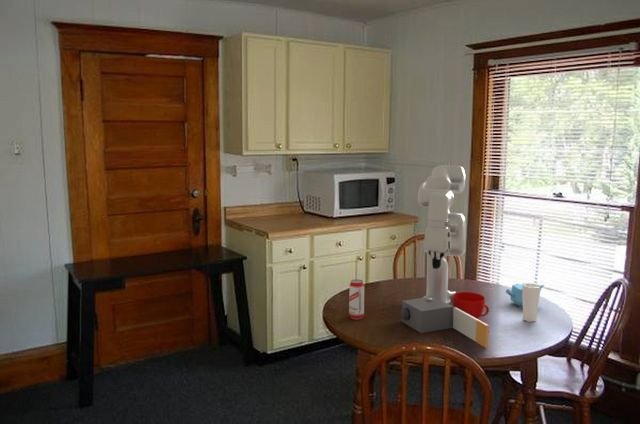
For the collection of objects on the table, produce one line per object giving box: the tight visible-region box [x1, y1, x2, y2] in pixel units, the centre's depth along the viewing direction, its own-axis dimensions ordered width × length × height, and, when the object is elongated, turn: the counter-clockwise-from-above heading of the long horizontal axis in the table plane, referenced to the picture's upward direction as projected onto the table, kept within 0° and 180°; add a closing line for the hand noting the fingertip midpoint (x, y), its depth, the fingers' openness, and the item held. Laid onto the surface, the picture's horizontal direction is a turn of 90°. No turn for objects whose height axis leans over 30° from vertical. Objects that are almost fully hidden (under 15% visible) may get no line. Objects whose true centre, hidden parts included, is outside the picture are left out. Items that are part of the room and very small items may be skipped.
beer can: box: [348, 278, 365, 321], centre depth 228 cm, size 6×6×16 cm
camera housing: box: [400, 296, 453, 334], centre depth 221 cm, size 16×14×10 cm
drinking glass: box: [522, 282, 541, 323], centre depth 226 cm, size 7×7×15 cm
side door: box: [451, 307, 490, 349], centre depth 207 cm, size 22×1×8 cm, turn 20°
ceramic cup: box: [452, 291, 490, 320], centre depth 225 cm, size 13×17×10 cm
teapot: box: [505, 282, 545, 309], centre depth 246 cm, size 18×14×10 cm
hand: (436, 267), depth 218 cm, fingers closed
